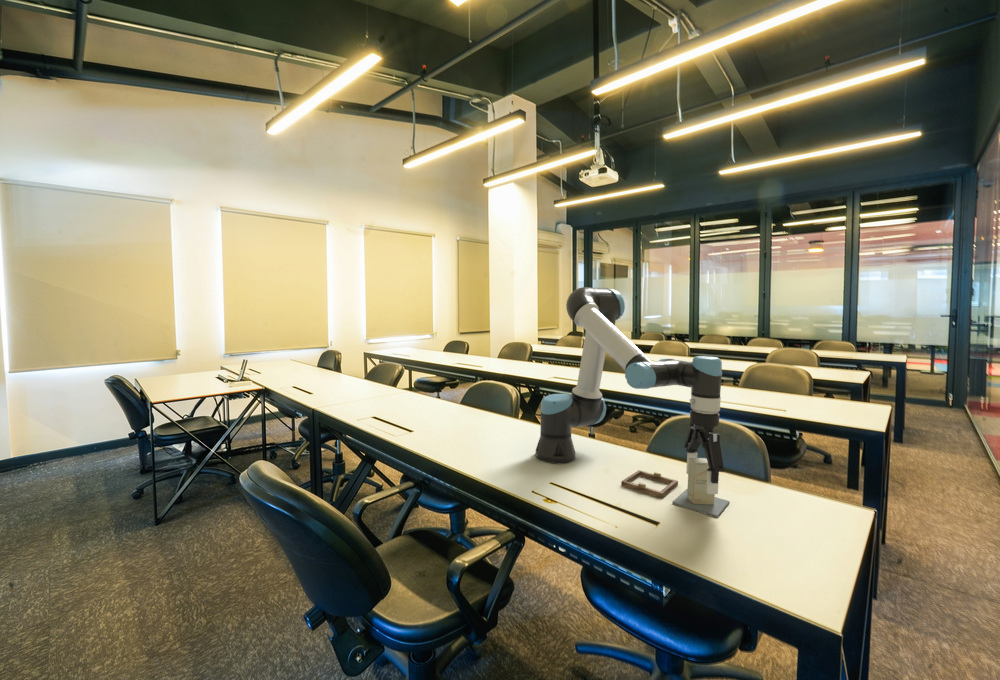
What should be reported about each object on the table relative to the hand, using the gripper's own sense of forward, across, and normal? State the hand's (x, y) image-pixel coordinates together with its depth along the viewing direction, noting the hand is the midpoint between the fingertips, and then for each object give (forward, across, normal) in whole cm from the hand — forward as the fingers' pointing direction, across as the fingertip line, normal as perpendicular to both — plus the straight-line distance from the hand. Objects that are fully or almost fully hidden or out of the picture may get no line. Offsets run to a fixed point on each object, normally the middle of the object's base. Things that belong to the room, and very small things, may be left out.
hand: (701, 483), depth 121 cm
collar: (+6, -12, -11) cm, 17 cm away
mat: (+6, 0, 0) cm, 6 cm away
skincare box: (+5, 0, 0) cm, 6 cm away
